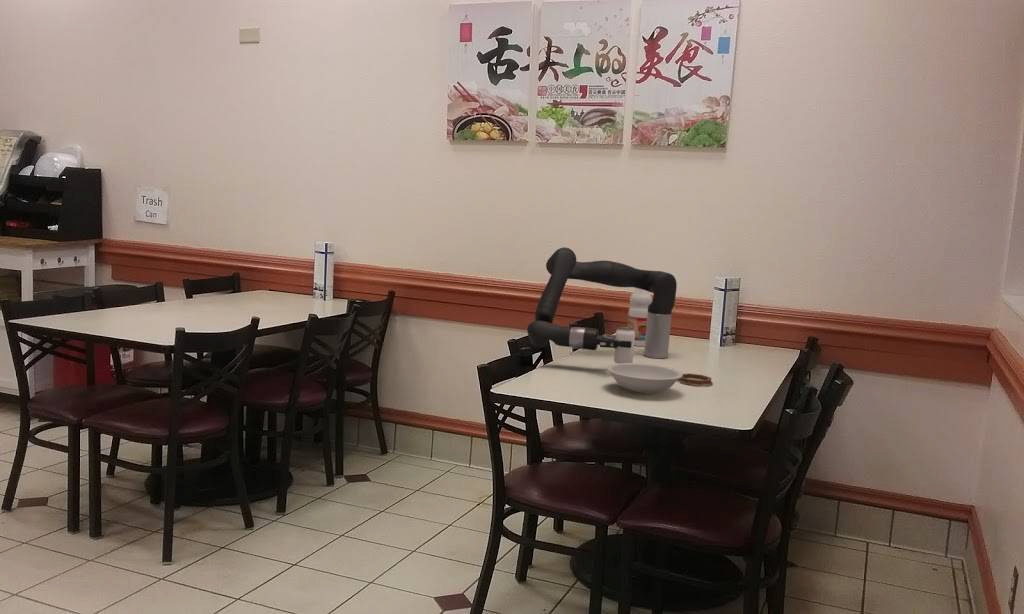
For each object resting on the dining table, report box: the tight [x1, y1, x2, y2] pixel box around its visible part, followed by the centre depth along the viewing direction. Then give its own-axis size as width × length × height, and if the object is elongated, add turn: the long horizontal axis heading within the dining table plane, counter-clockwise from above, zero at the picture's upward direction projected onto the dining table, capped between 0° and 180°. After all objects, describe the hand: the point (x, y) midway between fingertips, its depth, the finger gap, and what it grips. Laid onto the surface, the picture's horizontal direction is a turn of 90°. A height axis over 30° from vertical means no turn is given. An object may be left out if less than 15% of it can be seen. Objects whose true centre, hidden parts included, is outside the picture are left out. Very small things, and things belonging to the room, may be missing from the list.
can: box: [613, 326, 635, 364], centre depth 290 cm, size 6×6×12 cm
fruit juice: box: [626, 288, 653, 347], centre depth 351 cm, size 9×9×28 cm
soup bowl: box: [606, 362, 684, 394], centre depth 267 cm, size 24×24×7 cm
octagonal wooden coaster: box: [676, 373, 714, 387], centre depth 285 cm, size 12×12×2 cm
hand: (632, 343), depth 289 cm, fingers closed on can, 5 cm apart
